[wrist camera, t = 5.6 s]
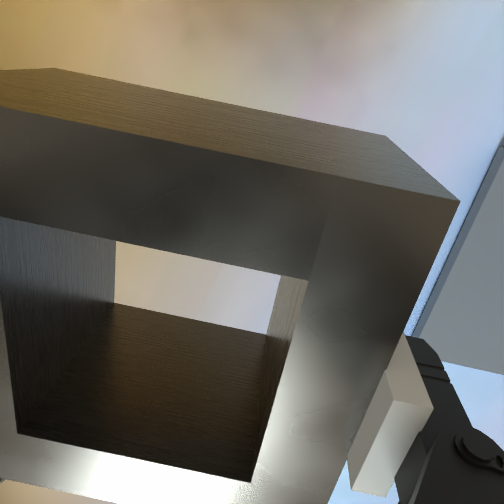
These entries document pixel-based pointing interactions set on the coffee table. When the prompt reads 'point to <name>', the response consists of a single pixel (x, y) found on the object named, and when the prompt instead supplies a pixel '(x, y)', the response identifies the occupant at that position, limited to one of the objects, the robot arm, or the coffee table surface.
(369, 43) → the coffee table surface
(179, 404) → the hollow square block
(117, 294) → the coffee table surface
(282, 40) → the coffee table surface
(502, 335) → the keeper
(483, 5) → the coffee table surface
